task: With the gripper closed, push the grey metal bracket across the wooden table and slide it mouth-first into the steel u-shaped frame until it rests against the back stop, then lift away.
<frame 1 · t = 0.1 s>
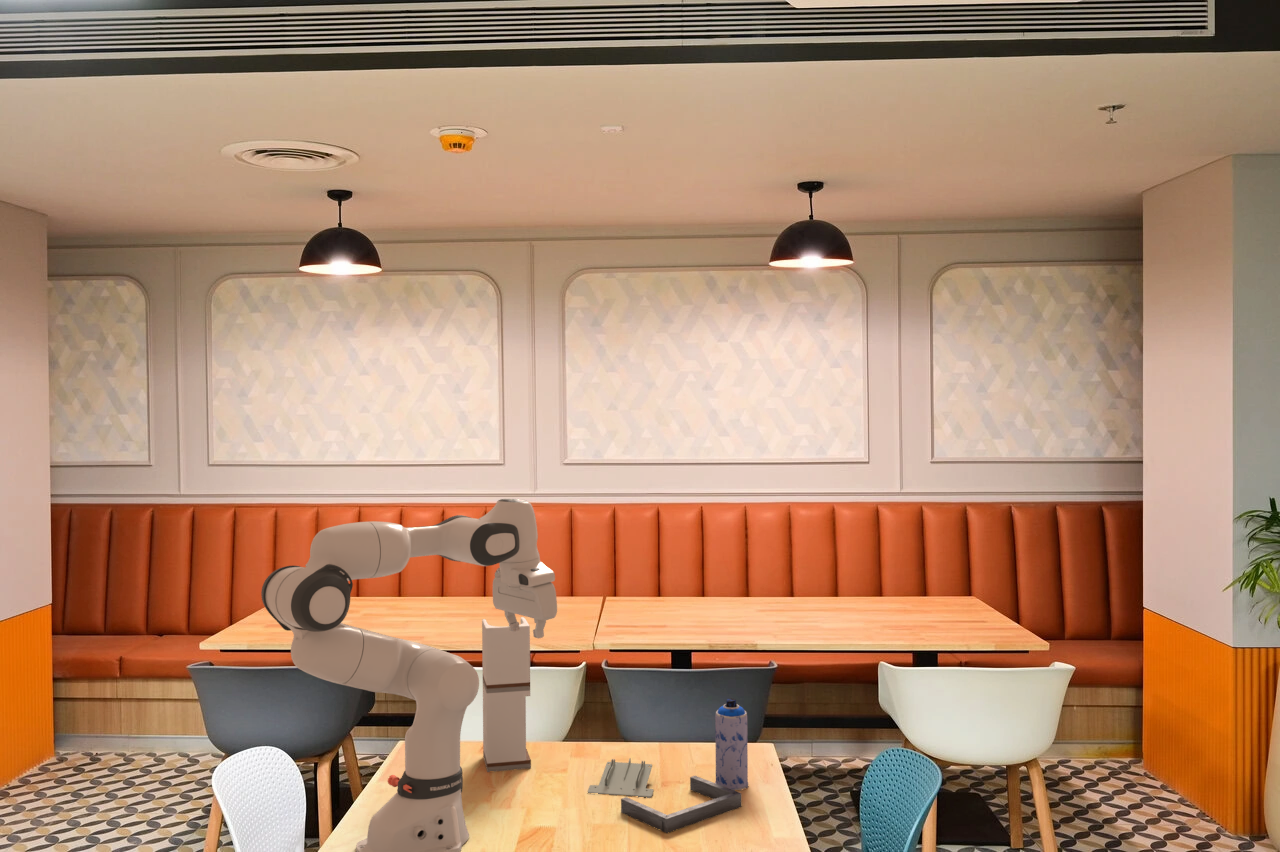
hand: (526, 634, 228), 39 cm above the table, tool pointing down, fingers open, 8 cm apart
steel u-shaped frame: (680, 808, 229), on the table
metal bracket: (624, 788, 244), on the table
aerosol can: (731, 785, 244), on the table
banded square pillar: (506, 763, 261), on the table
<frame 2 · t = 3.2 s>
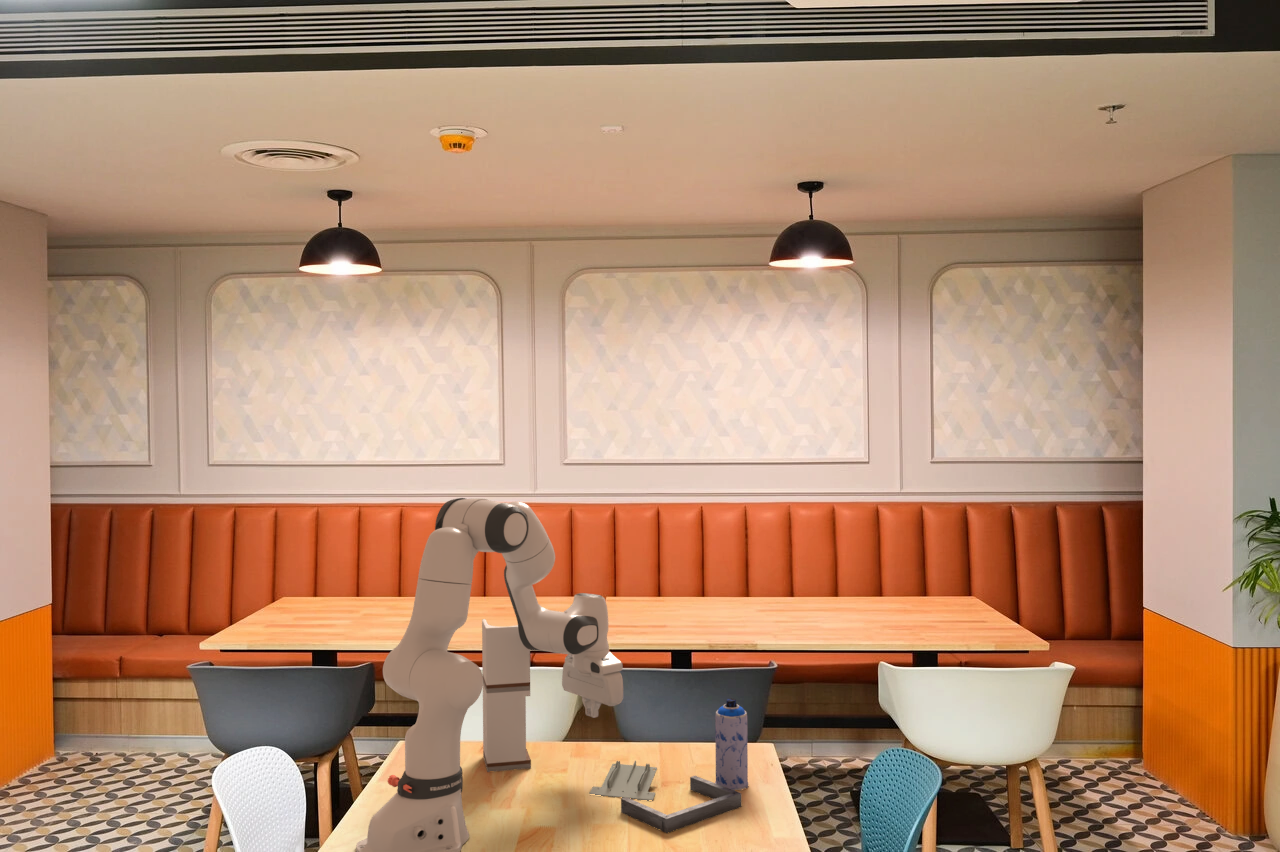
hand: (591, 716, 254), 13 cm above the table, tool pointing down, fingers closed
metal bracket: (628, 791, 242), on the table
everything else where it was.
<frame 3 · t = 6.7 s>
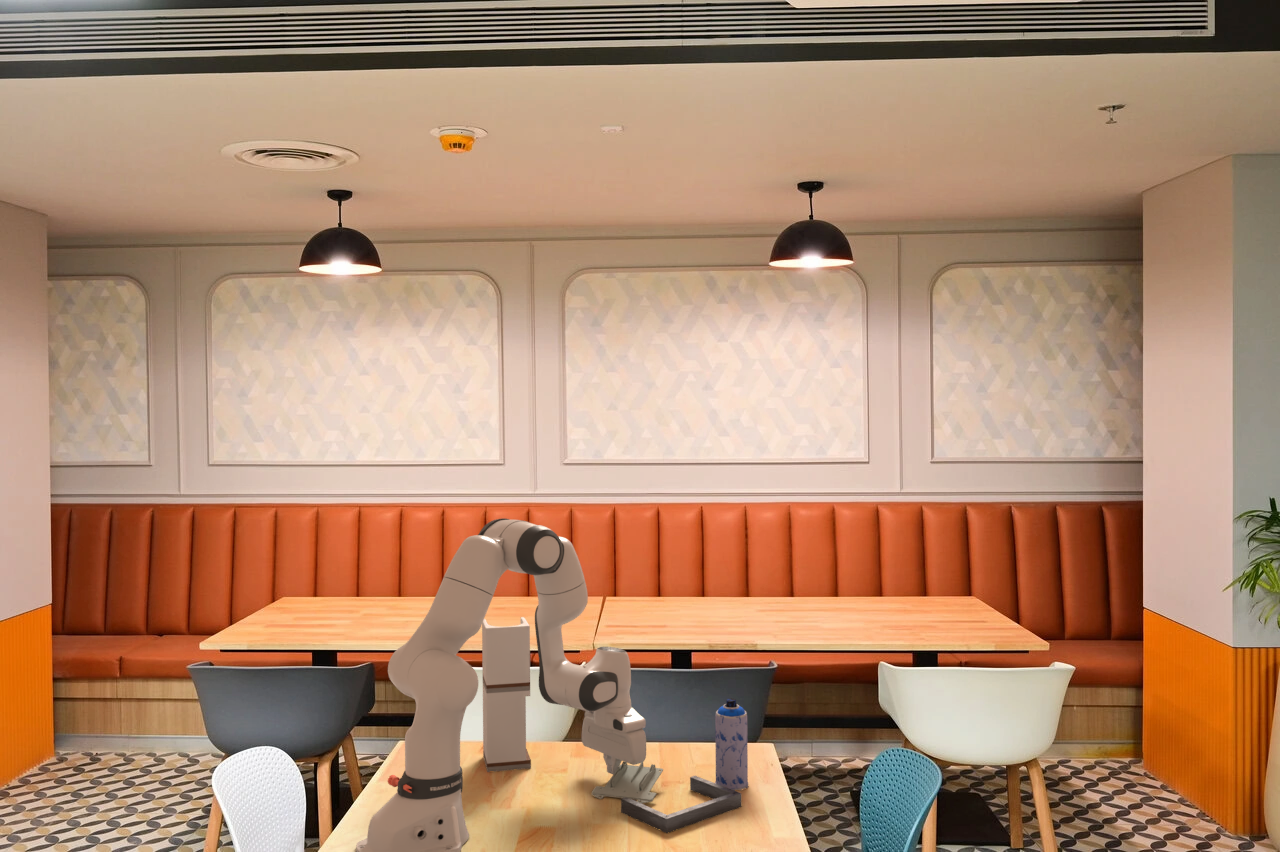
hand: (612, 773, 247), 2 cm above the table, tool pointing down, fingers closed
metal bracket: (632, 791, 240), on the table, touching gripper
everything else where it was.
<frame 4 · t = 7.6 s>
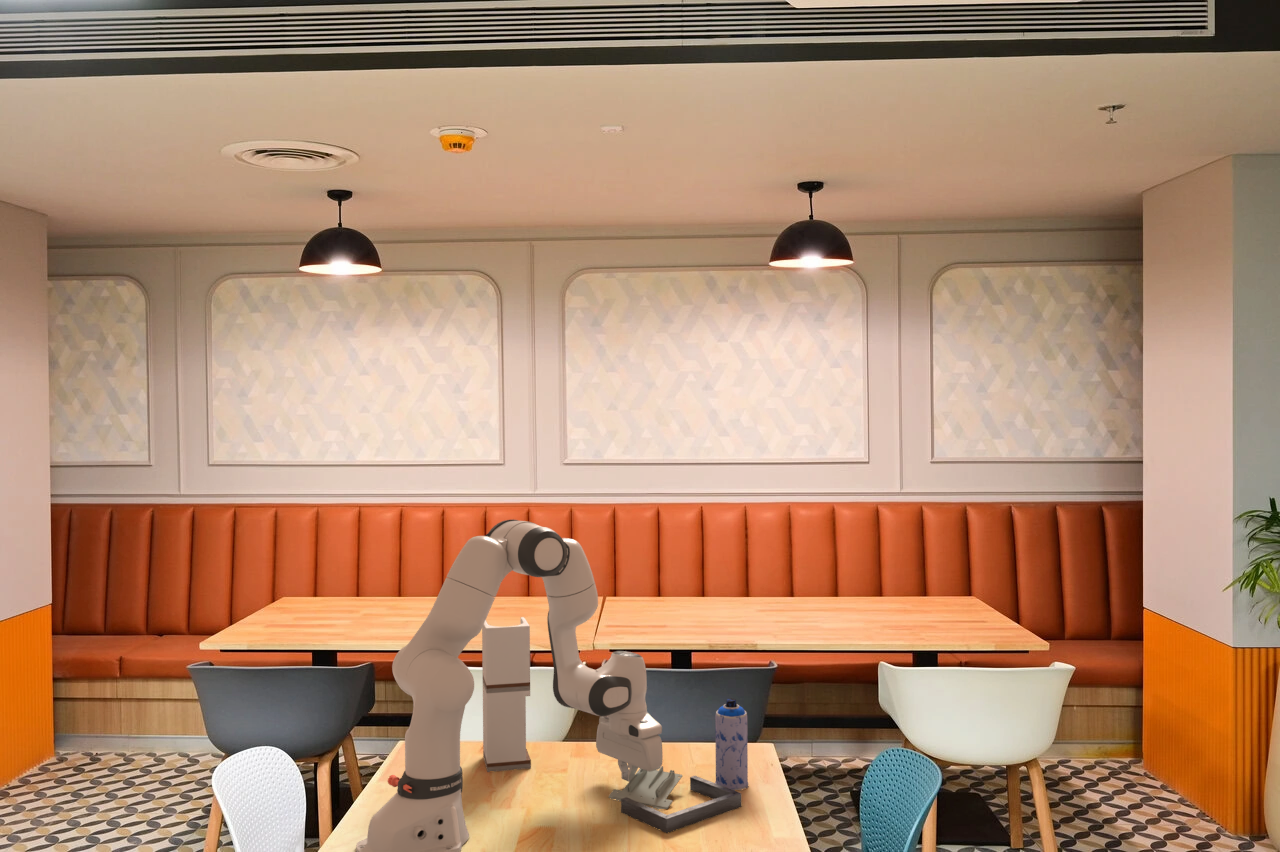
hand: (628, 780, 243), 2 cm above the table, tool pointing down, fingers closed
metal bracket: (650, 796, 238), on the table, touching gripper
everything else where it was.
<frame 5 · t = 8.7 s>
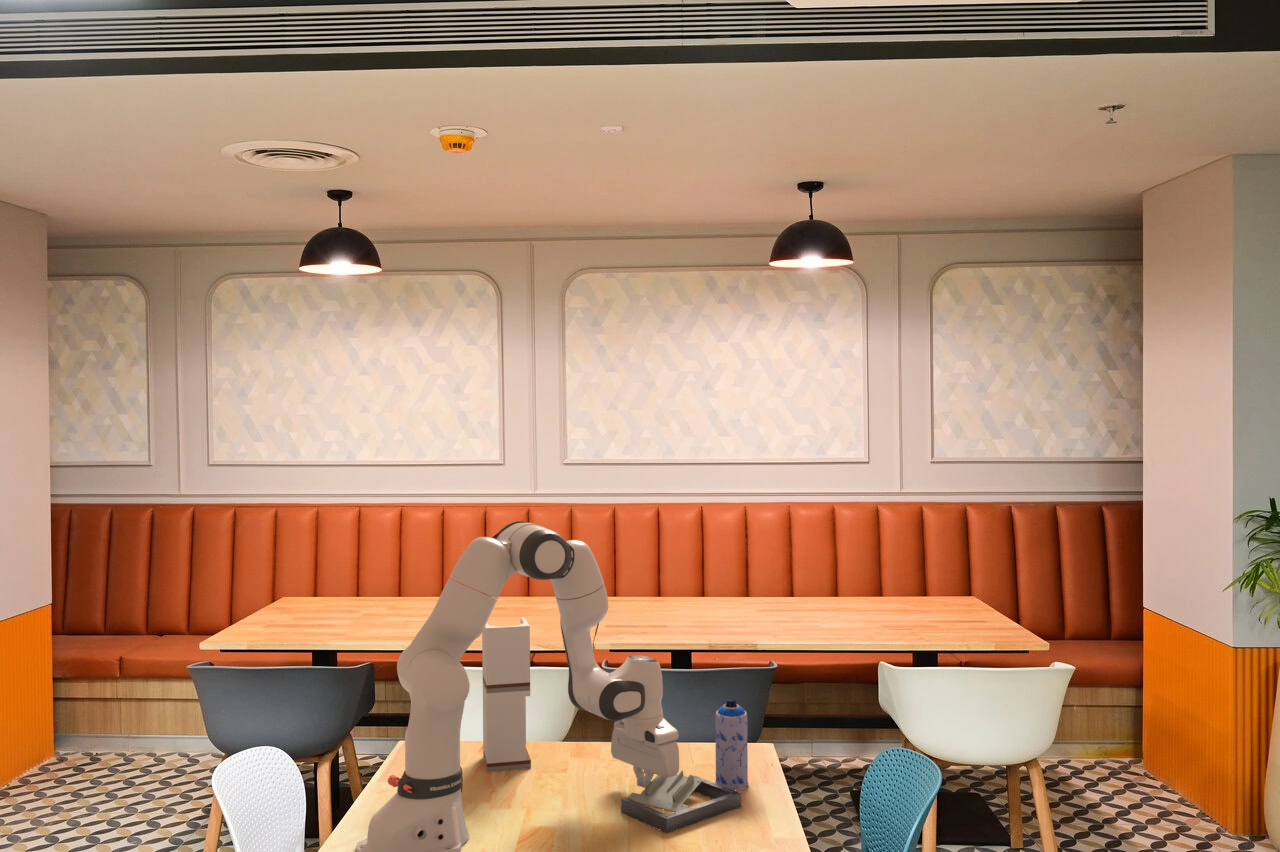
hand: (644, 786, 239), 2 cm above the table, tool pointing down, fingers closed
metal bracket: (668, 801, 236), on the table, touching gripper
everything else where it was.
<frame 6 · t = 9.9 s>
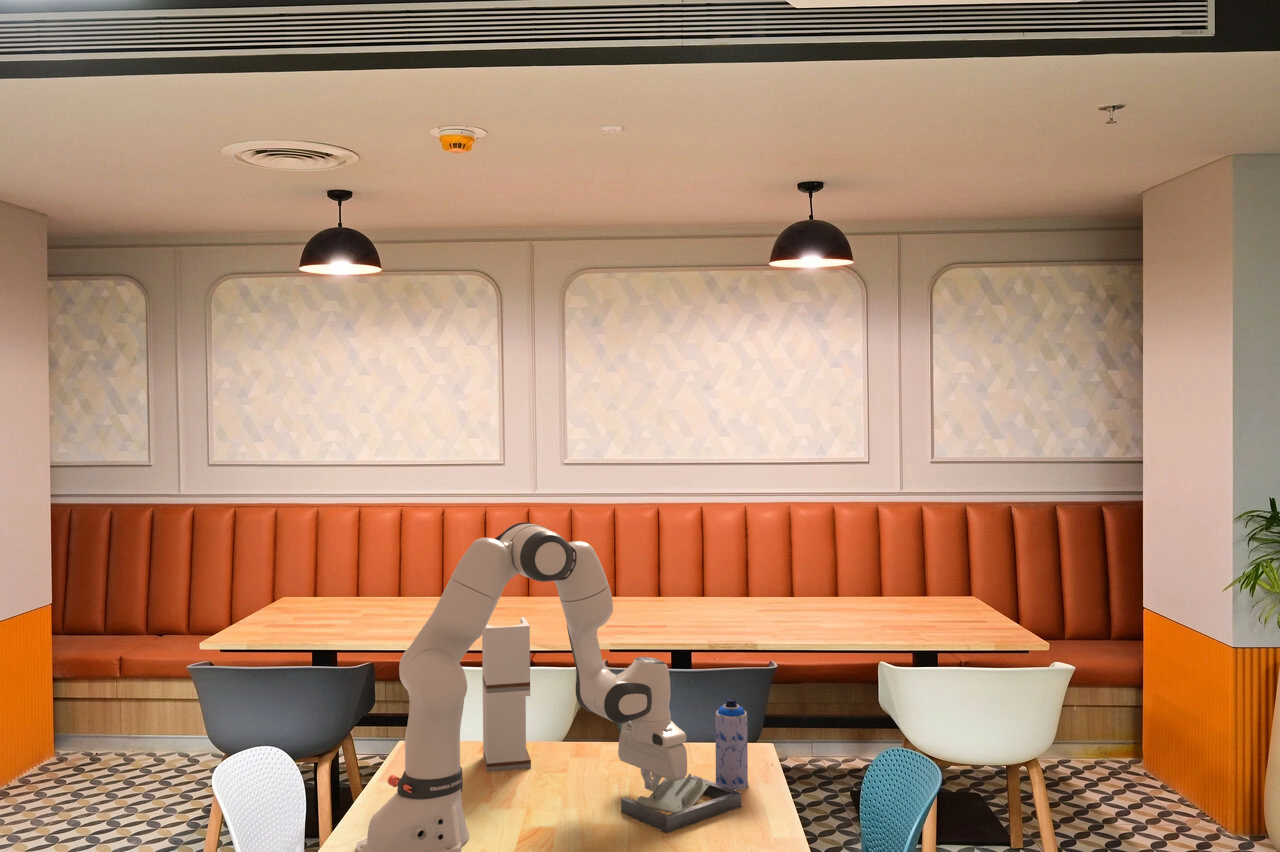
hand: (651, 789, 237), 2 cm above the table, tool pointing down, fingers closed
metal bracket: (677, 804, 234), on the table
everything else where it was.
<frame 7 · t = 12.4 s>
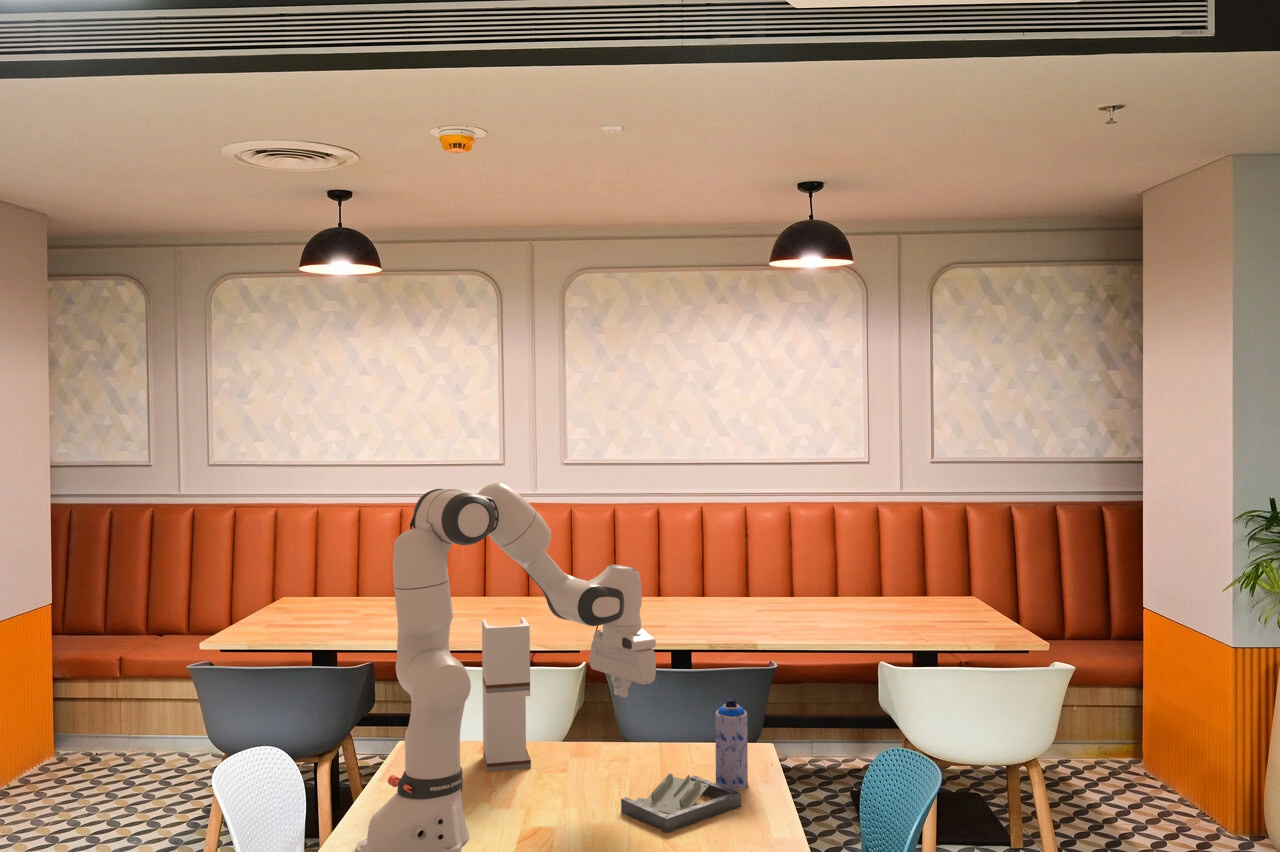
hand: (620, 695, 240), 22 cm above the table, tool pointing down, fingers closed
nothing on the table moved.
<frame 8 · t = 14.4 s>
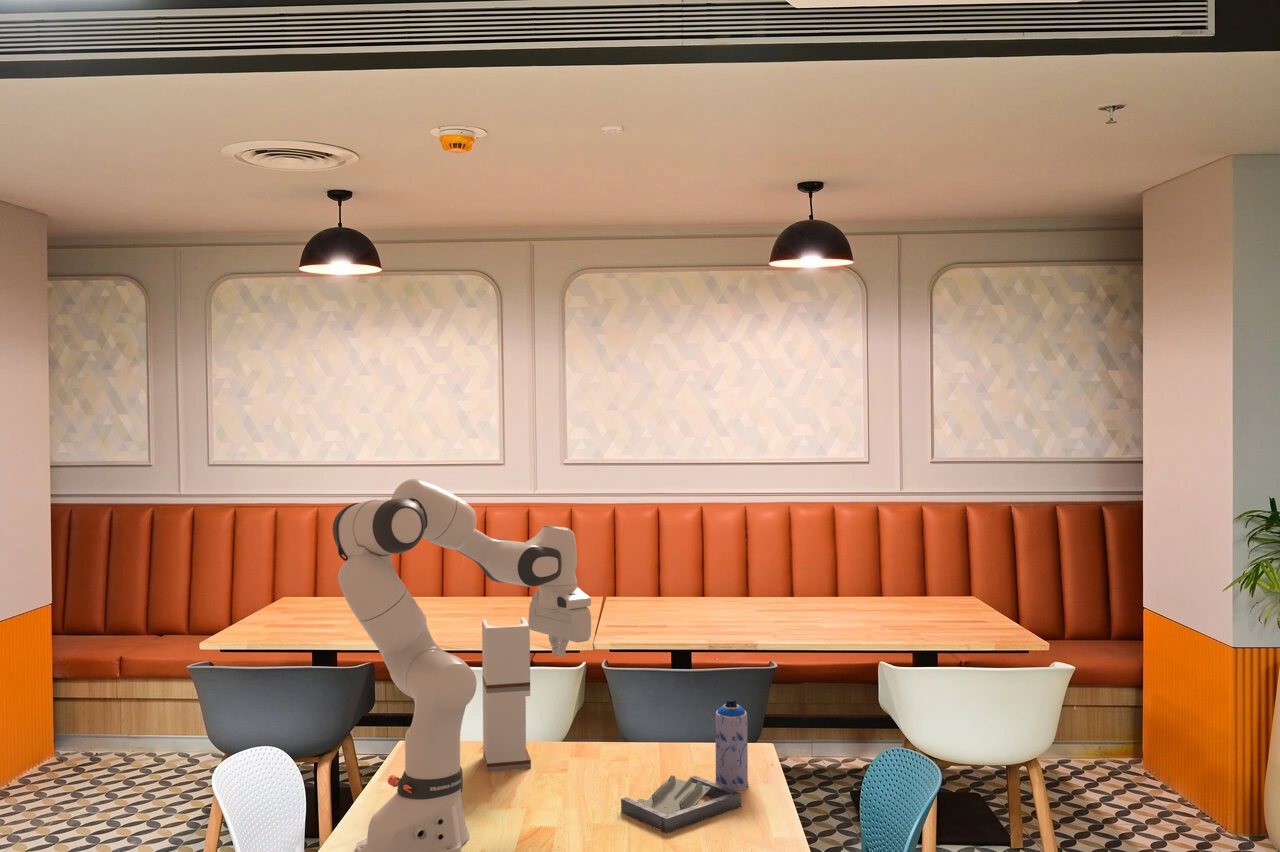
hand: (558, 655, 241), 31 cm above the table, tool pointing down, fingers closed
metal bracket: (676, 808, 232), on the table
everything else where it was.
at the end: metal bracket inside the target area (1.0 cm from its centre), on the table; metal bracket moved 16.9 cm from its start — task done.
